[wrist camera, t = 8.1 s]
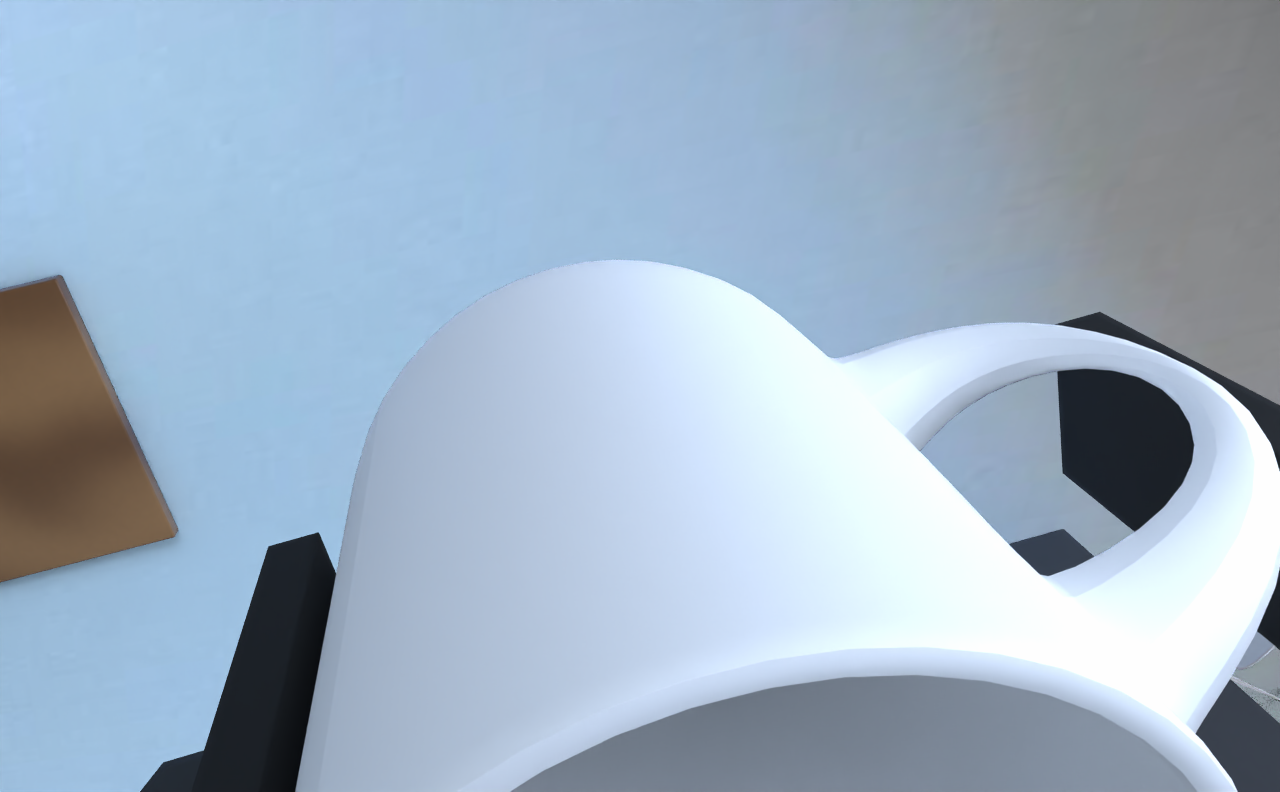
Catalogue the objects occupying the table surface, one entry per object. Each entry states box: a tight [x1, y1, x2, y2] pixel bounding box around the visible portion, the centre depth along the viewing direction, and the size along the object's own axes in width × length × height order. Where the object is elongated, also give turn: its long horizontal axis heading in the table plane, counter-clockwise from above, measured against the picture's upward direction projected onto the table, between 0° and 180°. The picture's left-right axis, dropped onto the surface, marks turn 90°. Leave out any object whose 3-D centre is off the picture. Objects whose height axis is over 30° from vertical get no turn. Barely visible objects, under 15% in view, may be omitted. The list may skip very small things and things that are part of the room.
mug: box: [295, 259, 1280, 792], centre depth 13 cm, size 9×12×11 cm
